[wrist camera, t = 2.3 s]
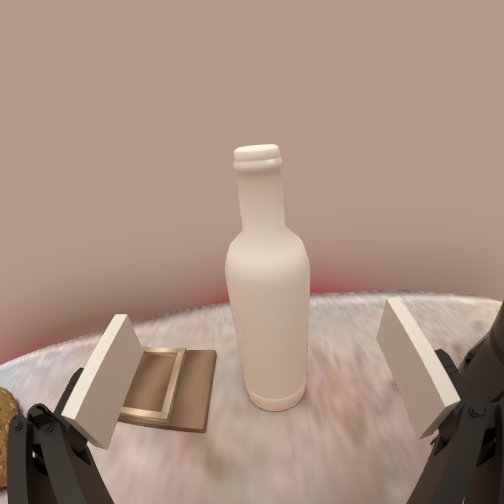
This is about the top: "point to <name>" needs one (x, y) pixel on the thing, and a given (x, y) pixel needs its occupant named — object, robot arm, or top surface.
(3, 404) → the bread
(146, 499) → the top surface
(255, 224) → the bottle
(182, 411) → the serving board
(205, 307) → the top surface
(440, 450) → the robot arm
